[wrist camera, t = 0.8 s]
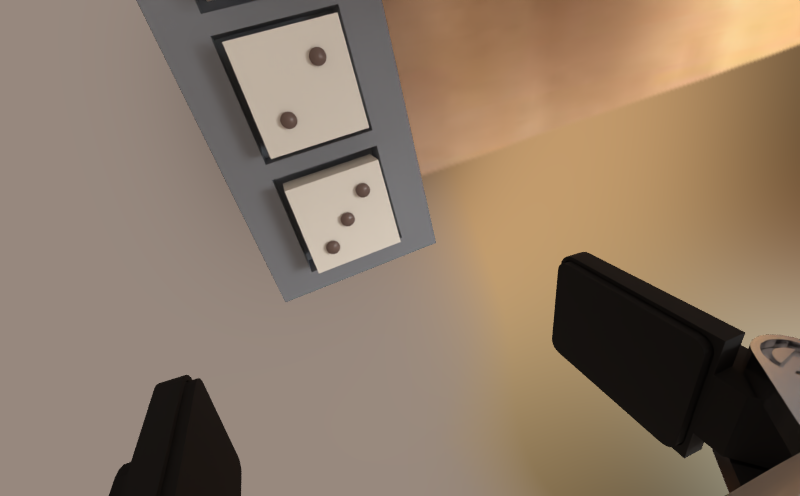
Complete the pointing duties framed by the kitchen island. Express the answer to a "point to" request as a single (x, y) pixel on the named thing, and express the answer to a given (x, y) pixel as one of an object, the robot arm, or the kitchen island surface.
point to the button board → (263, 177)
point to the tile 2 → (298, 84)
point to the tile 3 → (343, 212)
